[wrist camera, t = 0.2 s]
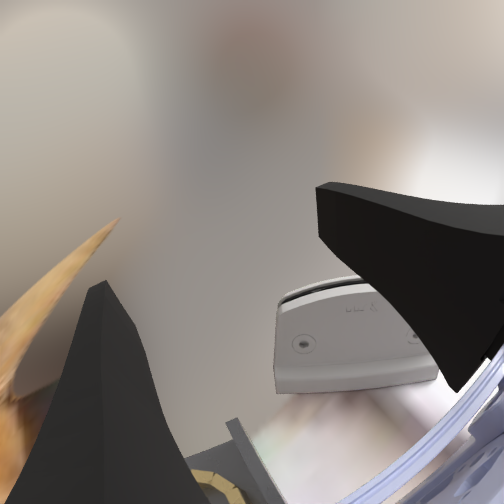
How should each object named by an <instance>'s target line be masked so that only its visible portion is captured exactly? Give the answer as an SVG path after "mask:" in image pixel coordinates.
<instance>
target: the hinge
mask: <svg viewBox="0 0 504 504" xmlns="http://www.w3.org/2000/svg"><path fill="white" fill-rule="evenodd" d="M273 369H274V377H275V386H276V393H277V394H291V393H320V392H337V391H350V390H361V389H371V388H380V387H388V386H396V385H403V384H409V383H416V382H422V381H427V380H433V379H437V375H438V372H439V367H438V366H437V364H436V362H435V361H434V359H433V358H432V356H431V355H430V353H429V352H428V350H427V349H426V347H425V346H424V345H423V343H422V342H421V340H420V339H419V338H418V336H417V335H416V334H415V332H414V331H413V330H412V329H411V327H410V326H409V325H408V324H407V322H406V321H405V320H404V319H403V318H402V316H401V315H400V314H399V313H398V312H397V311H396V310H395V309H394V307H393V306H392V305H391V304H390V303H389V302H388V301H387V300H386V299H385V298H384V297H383V296H382V295H381V294H380V293H379V292H377V291H376V290H375V289H374V288H373V287H372V286H370V285H369V284H368V283H367V282H366V281H365V280H363V279H362V278H361V277H360V276H359V275H356V276H348V277H340V278H335V279H330V280H326V281H321V282H318V283H314V284H310V285H308V286H305V287H302V288H299V289H296V290H294V291H292V292H289V293H287V294H286V295H284V296H283V298H282V299H281V300H280V302H279V303H278V310H277V313H276V328H275V348H274V365H273Z"/></svg>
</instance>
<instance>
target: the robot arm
mask: <svg viewBox="0 0 504 504" xmlns="http://www.w3.org/2000/svg"><path fill="white" fill-rule="evenodd" d="M316 201H317V216H318V230H319V231H318V233H319V237H320V239H321V240H322V241H323V242H324V243H325V244H326V245H327V247H328V248H329V249H330V250H331V251H332V252H333V253H334V254H335V255H336V256H337V257H338V258H339V259H340V260H341V261H342V262H344V263H345V264H346V265H347V266H348V267H349V268H350V269H352V270H353V271H354V272H355V273H356V274H358V275H359V276H360V277H361V278H362V279H363V280H365V281H366V282H367V283H368V284H369V285H370V286H372V287H373V288H374V289H375V290H376V291H377V292H379V293H380V294H381V295H382V296H383V297H384V298H385V299H386V300H387V301H388V302H389V303H390V304H391V305H392V306H393V307H394V309H395V310H396V311H397V312H398V313H399V314H400V315H401V316H402V318H403V319H404V320H405V321H406V322H407V324H408V325H409V326H410V327H411V329H412V330H413V331H414V332H415V334H416V335H417V336H418V338H419V339H420V340H421V342H422V343H423V345H424V346H425V347H426V349H427V350H428V352H429V353H430V355H431V356H432V358H433V359H434V361H435V362H436V364H437V366H438V367H439V369H440V371H441V372H442V374H443V376H444V378H445V380H446V381H447V383H448V385H449V387H450V388H451V389H453V390H454V391H455V392H456V393H458V392H459V391H460V390H461V388H462V387H463V386H464V385H465V384H466V383H467V382H468V380H469V379H470V378H471V377H472V376H473V374H474V373H475V372H476V371H477V370H478V368H479V367H480V366H481V365H482V363H483V362H484V361H485V359H486V358H488V359H490V360H491V362H490V363H489V365H488V366H487V367H486V368H485V370H484V371H483V372H482V374H481V375H480V376H479V377H478V379H477V380H476V381H475V382H474V383H473V385H472V386H471V387H470V388H469V389H468V391H467V392H466V393H465V394H464V395H463V396H462V397H461V399H460V400H459V401H458V402H457V403H456V404H455V405H454V406H453V407H452V408H451V410H450V411H449V412H448V413H447V414H446V415H445V416H444V417H443V418H442V419H441V420H440V421H439V422H438V423H437V424H436V425H435V426H434V427H433V428H432V429H431V430H430V431H429V432H428V433H427V434H426V435H425V436H423V437H422V438H421V439H420V440H419V441H418V442H417V443H416V444H415V445H414V446H412V447H411V448H410V449H409V450H408V451H407V452H406V453H404V454H403V455H402V456H401V457H400V458H398V459H397V460H396V461H395V462H394V463H392V464H391V465H390V466H389V467H387V468H386V469H385V470H383V471H382V472H381V473H379V474H378V475H377V476H376V477H374V478H373V479H371V480H370V481H369V482H367V483H366V484H364V485H363V486H362V487H360V488H359V489H357V490H356V491H354V492H353V493H351V494H350V495H348V496H347V497H345V498H344V499H342V500H341V501H339V502H337V503H336V504H380V503H382V502H383V501H384V500H386V499H387V498H388V497H389V496H391V495H392V494H393V493H395V492H396V491H397V490H398V489H400V488H401V487H402V486H403V485H405V484H406V483H407V482H408V481H409V480H410V479H412V478H413V477H414V476H415V475H416V474H417V473H419V472H420V471H421V470H422V469H423V468H424V467H425V466H426V465H427V464H428V463H429V462H431V461H432V460H433V459H434V458H435V457H436V456H437V455H438V454H439V453H440V452H441V451H442V450H443V449H444V448H445V447H446V446H447V445H448V444H449V443H450V442H451V441H452V440H453V438H454V437H455V436H456V435H457V434H458V433H459V432H460V431H461V430H462V429H463V428H464V426H465V425H466V424H467V423H468V422H469V421H470V419H471V418H472V417H473V416H474V415H475V414H476V412H477V411H478V410H479V409H480V407H481V406H482V405H483V404H484V402H485V401H486V400H487V398H488V397H489V396H490V395H491V393H492V392H493V390H494V389H495V388H496V386H497V385H498V387H499V391H498V392H497V394H496V395H495V396H494V397H493V398H492V399H491V400H490V401H489V402H488V403H487V404H486V405H485V406H484V407H483V408H482V410H481V411H480V412H479V413H478V414H477V416H476V417H475V418H474V420H473V421H472V423H471V424H470V426H469V427H468V432H469V433H470V434H471V436H470V438H469V439H468V440H467V441H466V442H465V443H464V444H463V445H462V446H461V447H460V448H459V449H458V450H457V451H456V452H455V453H454V454H453V455H452V456H451V457H450V458H449V459H448V460H447V461H446V462H444V463H443V464H442V465H441V466H440V467H439V468H438V469H437V470H436V471H435V472H433V473H432V474H431V475H430V476H429V477H428V478H426V479H425V480H424V481H423V482H422V483H420V484H419V485H418V486H417V487H416V488H414V489H413V490H412V491H411V492H409V493H408V494H407V495H406V496H404V497H403V498H402V499H401V500H399V501H398V502H397V503H395V504H504V205H477V204H463V203H452V202H444V201H436V200H429V199H423V198H418V197H413V196H407V195H402V194H397V193H392V192H387V191H382V190H377V189H373V188H368V187H362V186H357V185H352V184H345V183H338V182H328V183H326V184H323V185H321V186H318V187H316ZM4 504H211V503H210V502H209V500H208V499H207V497H206V495H205V494H204V492H203V491H202V489H201V487H200V486H199V484H198V483H197V481H196V479H195V478H194V476H193V474H192V472H191V471H190V469H189V467H188V465H187V463H186V462H185V460H184V458H183V456H182V454H181V452H180V451H179V448H178V446H177V444H176V442H175V440H174V438H173V436H172V434H171V432H170V430H169V428H168V425H167V423H166V420H165V417H164V415H163V412H162V409H161V406H160V402H159V399H158V396H157V392H156V389H155V385H154V382H153V379H152V375H151V371H150V368H149V364H148V360H147V357H146V353H145V350H144V347H143V345H142V342H141V339H140V337H139V334H138V331H137V329H136V326H135V324H134V323H133V321H132V320H131V318H130V317H129V315H128V314H127V312H126V311H125V309H124V308H123V306H122V304H121V303H120V302H119V300H118V298H117V297H116V295H115V293H114V292H113V290H112V289H111V287H110V285H109V284H108V282H107V280H105V281H103V282H101V283H99V284H97V285H95V286H93V287H91V288H89V290H88V292H87V295H86V298H85V301H84V304H83V307H82V311H81V314H80V317H79V321H78V324H77V327H76V331H75V334H74V337H73V341H72V344H71V347H70V350H69V353H68V356H67V359H66V362H65V366H64V369H63V372H62V375H61V378H60V381H59V384H58V387H57V389H56V392H55V395H54V397H53V400H52V403H51V406H50V408H49V411H48V413H47V415H46V418H45V420H44V422H43V425H42V427H41V430H40V432H39V434H38V437H37V439H36V442H35V444H34V446H33V448H32V451H31V453H30V455H29V457H28V459H27V461H26V463H25V465H24V467H23V469H22V472H21V474H20V476H19V478H18V479H17V481H16V483H15V485H14V487H13V489H12V491H11V492H10V494H9V496H8V498H7V500H6V502H5V503H4Z"/></svg>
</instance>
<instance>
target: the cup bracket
mask: <svg viewBox="0 0 504 504" xmlns="http://www.w3.org/2000/svg"><path fill="white" fill-rule="evenodd" d="M226 425H227V427H228V429H229V431H230V433H231V435H232V437H233V440H230V441H228V442H226V443H223V444H221V445H218V446H216V447H213V448H211V449H209V450H206V451H203V452H200V453H198V454H195V455H192V456H190V457H187V458H184V460H185V462H186V463H187V465H188V467H189V469H190V471H191V472H192V474H193V476H194V478H195V479H196V481H197V483H198V484H199V486H200V487H201V489H202V491H203V492H204V494H205V495H206V497H207V499H208V500H209V502H210V503H211V504H288V503H287V502H286V500H285V499H284V497H283V495H282V494H281V492H280V490H279V489H278V487H277V485H276V484H275V482H274V480H273V479H272V477H271V475H270V473H269V472H268V470H267V468H266V466H265V465H264V463H263V461H262V459H261V458H260V456H259V454H258V452H257V450H256V448H255V447H254V445H253V443H252V441H251V439H250V437H249V436H248V434H247V433H246V431H245V429H244V428H243V426H242V425H241V423H240V421H239V420H238V418H235V419H233V420H230V421H228V422H226Z"/></svg>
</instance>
